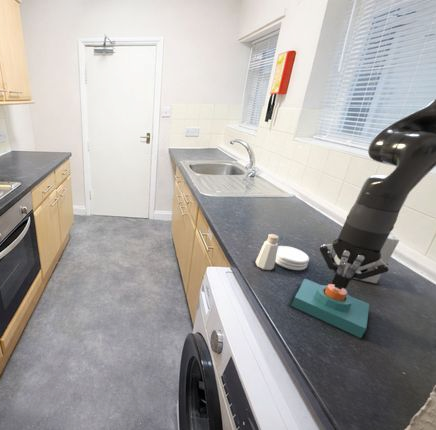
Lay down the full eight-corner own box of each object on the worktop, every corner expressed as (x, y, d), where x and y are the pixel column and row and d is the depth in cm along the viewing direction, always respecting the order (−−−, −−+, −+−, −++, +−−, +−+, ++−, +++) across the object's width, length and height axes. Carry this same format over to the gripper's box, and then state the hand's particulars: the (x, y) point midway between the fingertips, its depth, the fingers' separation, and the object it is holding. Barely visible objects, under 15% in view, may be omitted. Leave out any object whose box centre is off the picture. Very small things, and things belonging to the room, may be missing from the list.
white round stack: (298, 275, 81) (302, 265, 80) (265, 259, 88) (268, 250, 87) (311, 264, 87) (315, 255, 85) (279, 250, 94) (282, 242, 92)
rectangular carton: (365, 268, 85) (386, 227, 79) (377, 284, 78) (401, 240, 72) (331, 261, 89) (349, 221, 83) (339, 275, 81) (359, 233, 75)
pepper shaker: (274, 264, 86) (284, 234, 82) (272, 272, 82) (283, 241, 77) (256, 258, 89) (265, 229, 84) (253, 266, 85) (262, 236, 80)
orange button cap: (345, 295, 66) (348, 289, 65) (343, 303, 64) (346, 297, 63) (325, 288, 69) (328, 281, 68) (323, 295, 66) (326, 289, 65)
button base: (364, 312, 67) (373, 297, 65) (360, 338, 60) (370, 322, 58) (301, 286, 76) (306, 272, 74) (291, 306, 69) (297, 291, 67)
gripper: (410, 229, 56) (374, 292, 64) (333, 210, 65) (309, 268, 72) (411, 241, 51) (372, 308, 59) (328, 219, 60) (303, 280, 67)
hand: (337, 286), depth 65 cm, fingers closed
